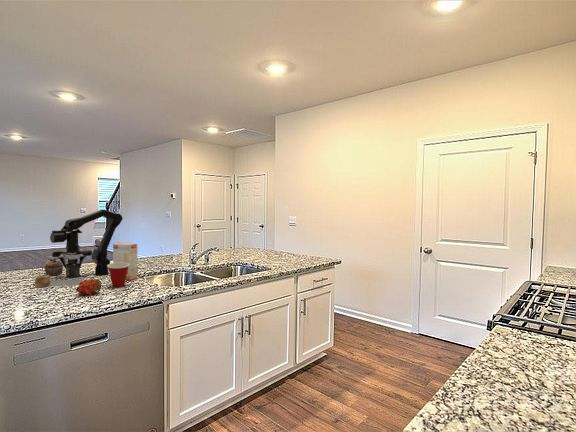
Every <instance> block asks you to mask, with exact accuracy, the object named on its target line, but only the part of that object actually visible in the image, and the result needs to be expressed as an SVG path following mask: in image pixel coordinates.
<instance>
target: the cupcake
mask: <svg viewBox="0 0 576 432" xmlns="http://www.w3.org/2000/svg"><path fill="white" fill-rule="evenodd" d="M63 270H64V266H63V264H62V262H61V260H60V259H59V258H57V257H54V258H53V259H52V258H48V259H47V260H46V263H45V265H44V271H45V275H50V277H58V276H62V274H63ZM57 275H58V276H57Z"/></svg>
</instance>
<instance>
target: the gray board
mask: <svg viewBox="0 0 576 432" xmlns="http://www.w3.org/2000/svg"><path fill="white" fill-rule="evenodd" d="M84 280H85V278H74V279H63V280H62V279H61V280H50V285H49V286H48V287H47V288H53V287H54V288H55V287H70V286H79V284H80V282H83V281H84ZM42 288H44V287H38V288H37V289H42Z"/></svg>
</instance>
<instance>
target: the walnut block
mask: <svg viewBox="0 0 576 432" xmlns="http://www.w3.org/2000/svg"><path fill="white" fill-rule="evenodd" d="M34 280H35V283H34V284H35V285H34V286H35V287H34V289H39V288H38V287H43V288H49V287H48V286H49V285H50V281H51V276H50V275H46V274H45V275H38V276H36V277H35V279H34Z"/></svg>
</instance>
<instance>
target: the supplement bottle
mask: <svg viewBox="0 0 576 432" xmlns="http://www.w3.org/2000/svg"><path fill="white" fill-rule="evenodd" d="M80 268H81V267H80ZM80 268H79V260H78V257H71V258H68V259H67V263H66V269H65V278H66V279H67V280H72V279H79V278H80V277H81V275H80V274H81V269H80Z"/></svg>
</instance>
